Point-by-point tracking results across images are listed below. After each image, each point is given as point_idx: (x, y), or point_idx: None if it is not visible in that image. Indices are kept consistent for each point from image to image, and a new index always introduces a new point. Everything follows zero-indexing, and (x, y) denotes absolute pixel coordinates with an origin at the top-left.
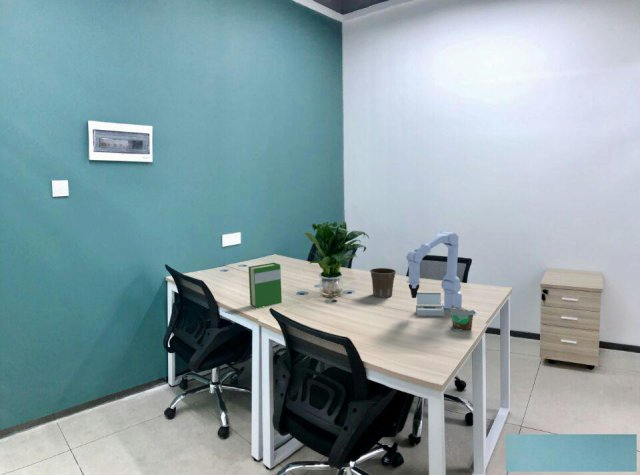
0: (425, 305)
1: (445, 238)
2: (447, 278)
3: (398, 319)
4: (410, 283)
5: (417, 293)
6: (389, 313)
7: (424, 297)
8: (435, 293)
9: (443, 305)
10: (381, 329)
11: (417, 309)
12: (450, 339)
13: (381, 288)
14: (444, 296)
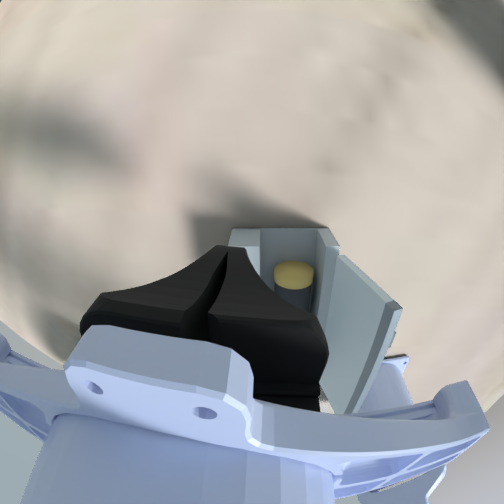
0: (328, 305)
1: None
2: (411, 485)
3: (147, 104)
4: (10, 377)
5: (388, 311)
6: (269, 41)
7: (355, 337)
8: (349, 410)
9: (385, 362)
10: (26, 61)
11: (235, 246)
12: (25, 310)
13: None
14: (393, 400)
